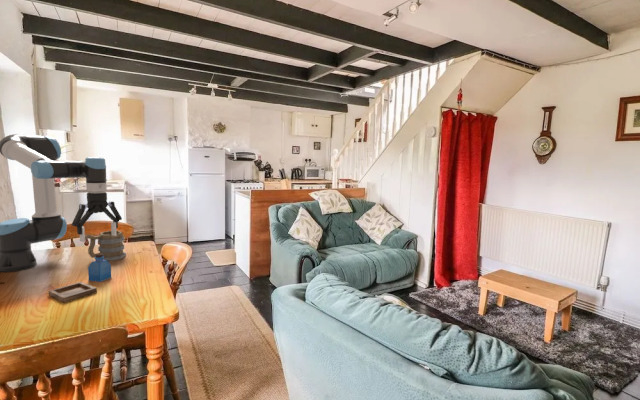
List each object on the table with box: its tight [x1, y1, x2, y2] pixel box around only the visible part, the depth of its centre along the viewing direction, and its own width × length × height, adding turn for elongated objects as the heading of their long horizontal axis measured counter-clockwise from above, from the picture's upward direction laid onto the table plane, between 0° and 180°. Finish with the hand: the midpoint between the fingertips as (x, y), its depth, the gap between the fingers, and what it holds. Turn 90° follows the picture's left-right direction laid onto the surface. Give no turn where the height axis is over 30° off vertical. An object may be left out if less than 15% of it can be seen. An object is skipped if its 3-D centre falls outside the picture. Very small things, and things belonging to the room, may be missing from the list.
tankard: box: [85, 230, 127, 262], centre depth 180 cm, size 20×13×15 cm, turn 144°
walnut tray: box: [48, 281, 98, 304], centre depth 137 cm, size 12×12×2 cm
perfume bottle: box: [87, 252, 112, 283], centre depth 153 cm, size 6×6×12 cm
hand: (98, 238), depth 151 cm, fingers open, 13 cm apart
